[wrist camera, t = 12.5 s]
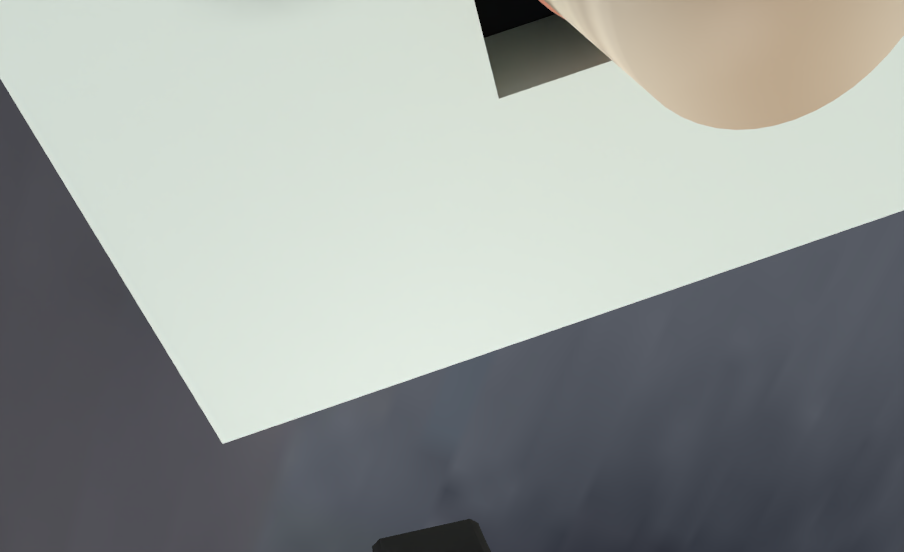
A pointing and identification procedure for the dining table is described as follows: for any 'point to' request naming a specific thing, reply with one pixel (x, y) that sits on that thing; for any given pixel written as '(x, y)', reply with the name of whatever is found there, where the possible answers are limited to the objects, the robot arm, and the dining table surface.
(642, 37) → the peg
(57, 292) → the dining table surface
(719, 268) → the board
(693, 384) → the dining table surface
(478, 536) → the robot arm
